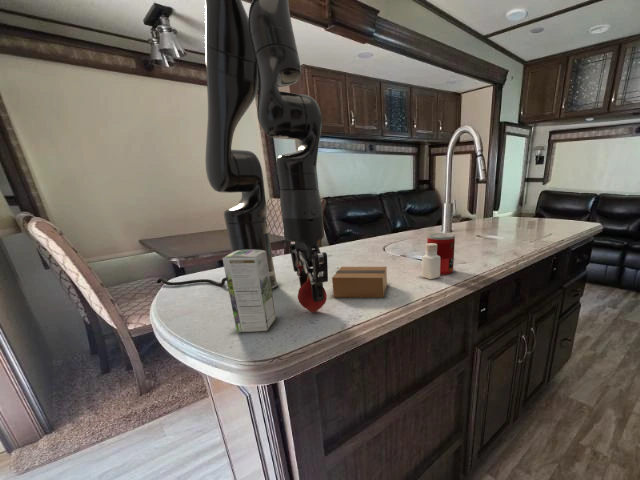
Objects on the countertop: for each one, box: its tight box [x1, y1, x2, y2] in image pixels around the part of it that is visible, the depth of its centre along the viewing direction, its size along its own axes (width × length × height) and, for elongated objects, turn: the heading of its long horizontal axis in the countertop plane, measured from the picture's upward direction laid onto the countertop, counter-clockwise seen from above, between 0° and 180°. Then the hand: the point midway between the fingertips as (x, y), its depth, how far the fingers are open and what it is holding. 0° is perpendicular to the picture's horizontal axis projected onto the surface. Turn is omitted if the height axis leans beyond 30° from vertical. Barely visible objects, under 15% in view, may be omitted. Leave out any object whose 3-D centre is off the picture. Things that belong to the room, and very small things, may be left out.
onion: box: [297, 276, 328, 313], centre depth 66 cm, size 6×6×8 cm
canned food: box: [426, 232, 456, 276], centre depth 94 cm, size 8×8×11 cm
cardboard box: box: [331, 266, 388, 299], centre depth 79 cm, size 12×10×5 cm
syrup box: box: [222, 250, 277, 333], centre depth 59 cm, size 6×6×14 cm
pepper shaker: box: [421, 243, 441, 280], centre depth 89 cm, size 4×4×10 cm
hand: (312, 296), depth 66 cm, fingers closed on onion, 6 cm apart
